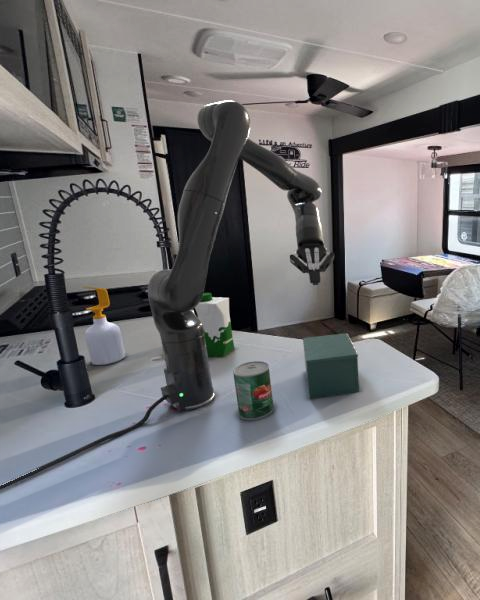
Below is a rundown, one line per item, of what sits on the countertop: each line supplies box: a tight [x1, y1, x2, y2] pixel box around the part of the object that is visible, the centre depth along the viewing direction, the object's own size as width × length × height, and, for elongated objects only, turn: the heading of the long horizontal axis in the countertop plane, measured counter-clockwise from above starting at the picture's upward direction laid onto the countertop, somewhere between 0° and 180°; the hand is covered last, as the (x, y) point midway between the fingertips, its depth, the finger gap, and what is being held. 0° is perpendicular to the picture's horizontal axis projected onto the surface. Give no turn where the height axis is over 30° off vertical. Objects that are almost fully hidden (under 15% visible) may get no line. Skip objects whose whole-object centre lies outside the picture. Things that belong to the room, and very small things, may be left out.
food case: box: [302, 342, 360, 399], centre depth 103 cm, size 16×13×10 cm
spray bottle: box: [82, 286, 126, 366], centre depth 121 cm, size 9×9×25 cm
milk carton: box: [194, 292, 235, 358], centre depth 125 cm, size 9×9×20 cm
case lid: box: [302, 332, 359, 364], centre depth 101 cm, size 16×13×1 cm
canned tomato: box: [232, 360, 275, 421], centre depth 89 cm, size 8×8×11 cm
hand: (315, 283), depth 103 cm, fingers closed
